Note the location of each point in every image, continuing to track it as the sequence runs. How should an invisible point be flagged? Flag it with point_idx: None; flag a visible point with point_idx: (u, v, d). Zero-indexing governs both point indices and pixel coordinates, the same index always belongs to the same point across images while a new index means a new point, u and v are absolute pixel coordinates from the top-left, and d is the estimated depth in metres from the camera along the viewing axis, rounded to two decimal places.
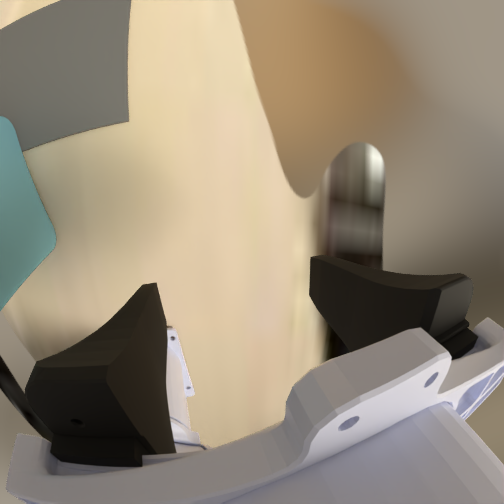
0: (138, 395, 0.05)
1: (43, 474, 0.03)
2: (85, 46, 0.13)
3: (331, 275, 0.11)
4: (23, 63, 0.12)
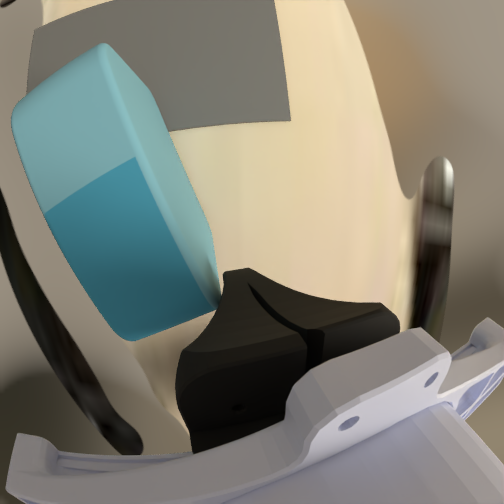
0: None
1: (43, 474, 0.03)
2: (236, 40, 0.17)
3: None
4: (159, 40, 0.16)
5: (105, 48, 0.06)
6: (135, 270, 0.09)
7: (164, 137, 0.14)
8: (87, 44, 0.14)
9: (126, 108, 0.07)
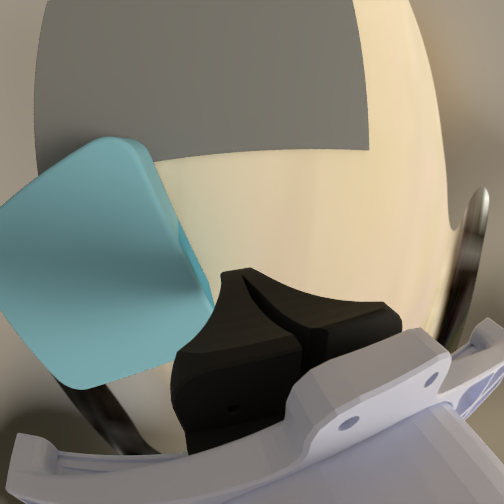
0: None
1: (43, 474, 0.03)
2: (316, 44, 0.14)
3: (248, 291, 0.10)
4: (222, 30, 0.12)
5: None
6: None
7: (82, 255, 0.11)
8: (123, 23, 0.10)
9: None
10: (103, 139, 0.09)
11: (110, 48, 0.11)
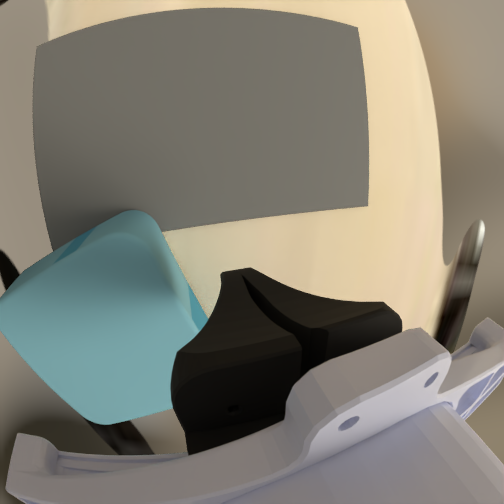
0: None
1: (43, 474, 0.03)
2: (320, 99, 0.15)
3: (248, 292, 0.10)
4: (224, 87, 0.14)
5: None
6: None
7: (107, 330, 0.12)
8: (120, 80, 0.12)
9: (19, 354, 0.11)
10: (116, 236, 0.11)
11: (109, 110, 0.12)
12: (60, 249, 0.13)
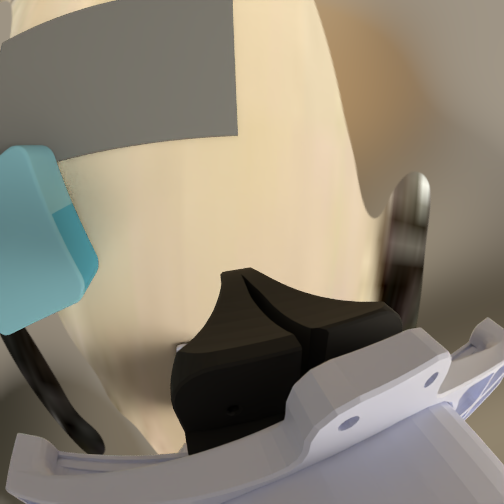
0: None
1: (43, 474, 0.03)
2: (187, 49, 0.16)
3: (248, 292, 0.10)
4: (109, 54, 0.15)
5: None
6: None
7: (1, 223, 0.12)
8: (44, 59, 0.13)
9: None
10: (11, 147, 0.11)
11: (35, 80, 0.13)
12: None
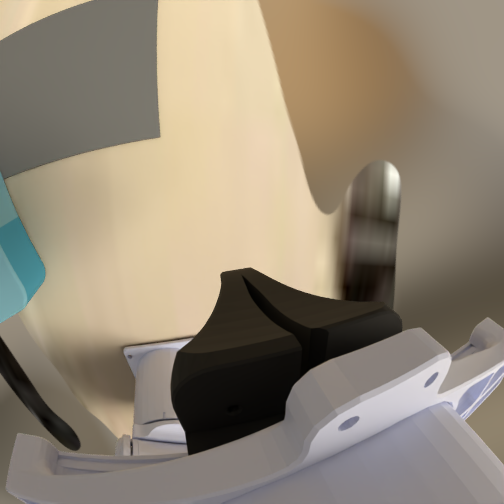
0: None
1: (43, 474, 0.03)
2: (110, 55, 0.14)
3: (248, 292, 0.10)
4: (42, 70, 0.13)
5: None
6: None
7: None
8: None
9: None
10: None
11: None
12: None
